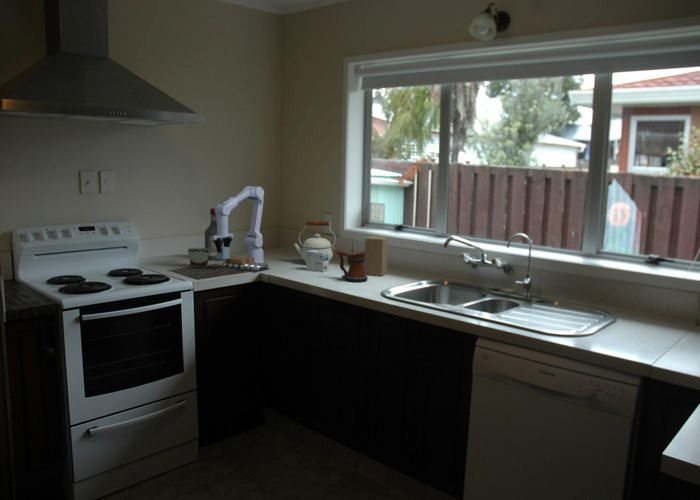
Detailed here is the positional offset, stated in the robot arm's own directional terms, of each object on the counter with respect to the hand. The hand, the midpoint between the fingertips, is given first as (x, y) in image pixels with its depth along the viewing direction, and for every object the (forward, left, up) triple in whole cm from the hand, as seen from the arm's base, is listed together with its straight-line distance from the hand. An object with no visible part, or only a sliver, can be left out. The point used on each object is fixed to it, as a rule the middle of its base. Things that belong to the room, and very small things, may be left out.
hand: (222, 251), depth 318 cm
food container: (+1, -15, -10) cm, 18 cm away
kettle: (-44, +31, -10) cm, 55 cm away
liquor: (-20, -24, -10) cm, 33 cm away
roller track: (-8, +9, -9) cm, 15 cm away
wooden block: (-36, +75, -10) cm, 83 cm away
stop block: (0, 0, -4) cm, 4 cm away
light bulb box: (-27, +44, -10) cm, 52 cm away
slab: (-8, +5, -6) cm, 11 cm away
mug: (-16, +71, -10) cm, 73 cm away
